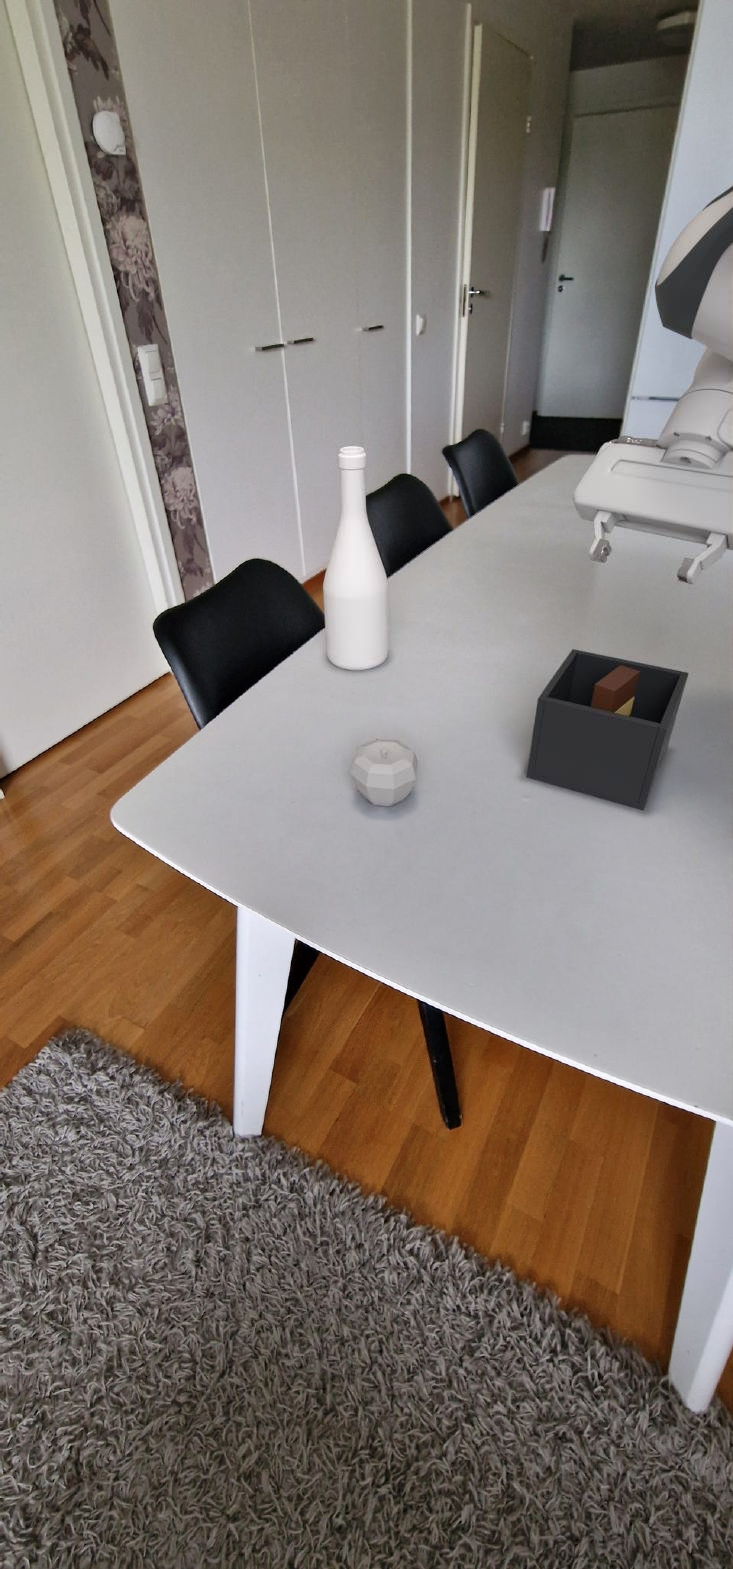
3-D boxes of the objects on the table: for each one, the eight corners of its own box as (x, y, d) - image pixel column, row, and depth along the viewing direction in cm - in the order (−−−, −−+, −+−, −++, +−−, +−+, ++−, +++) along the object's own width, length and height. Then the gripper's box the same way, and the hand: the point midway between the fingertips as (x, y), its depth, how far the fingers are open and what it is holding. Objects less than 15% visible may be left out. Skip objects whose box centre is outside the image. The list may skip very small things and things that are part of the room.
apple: (427, 812, 79) (429, 764, 75) (359, 824, 77) (358, 776, 73) (406, 771, 85) (407, 725, 81) (343, 782, 83) (341, 736, 80)
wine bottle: (392, 646, 112) (393, 441, 94) (382, 674, 105) (381, 458, 87) (334, 642, 114) (325, 440, 96) (320, 670, 106) (307, 456, 88)
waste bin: (666, 749, 88) (688, 672, 81) (643, 810, 78) (667, 728, 72) (559, 723, 93) (572, 648, 87) (526, 777, 84) (537, 698, 77)
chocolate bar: (621, 751, 86) (640, 671, 80) (597, 773, 83) (615, 691, 76) (602, 743, 88) (620, 664, 81) (577, 765, 84) (594, 684, 77)
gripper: (602, 414, 74) (539, 531, 74) (813, 438, 62) (739, 577, 62) (614, 453, 79) (556, 562, 79) (811, 481, 67) (743, 609, 68)
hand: (638, 569), depth 71 cm, fingers open, 8 cm apart
